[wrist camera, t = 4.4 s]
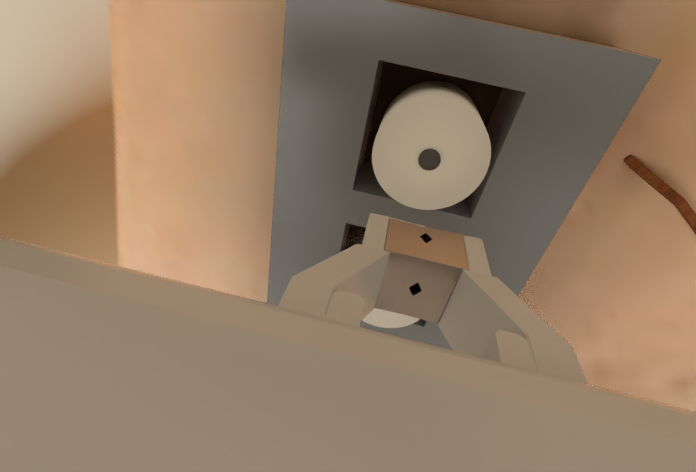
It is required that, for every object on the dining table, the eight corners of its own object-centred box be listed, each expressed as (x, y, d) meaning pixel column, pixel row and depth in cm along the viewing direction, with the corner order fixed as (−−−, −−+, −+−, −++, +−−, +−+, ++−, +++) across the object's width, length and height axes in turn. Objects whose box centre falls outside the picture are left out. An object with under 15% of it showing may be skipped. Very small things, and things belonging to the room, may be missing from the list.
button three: (441, 236, 21) (443, 276, 18) (417, 295, 24) (416, 338, 21) (360, 216, 21) (349, 252, 18) (346, 277, 24) (334, 317, 21)
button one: (496, 93, 16) (512, 115, 13) (460, 187, 19) (466, 222, 16) (393, 70, 17) (385, 86, 14) (371, 166, 19) (361, 197, 16)
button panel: (614, 46, 16) (661, 59, 13) (436, 381, 31) (437, 427, 28) (314, -17, 17) (287, -20, 14) (279, 339, 32) (262, 379, 29)
